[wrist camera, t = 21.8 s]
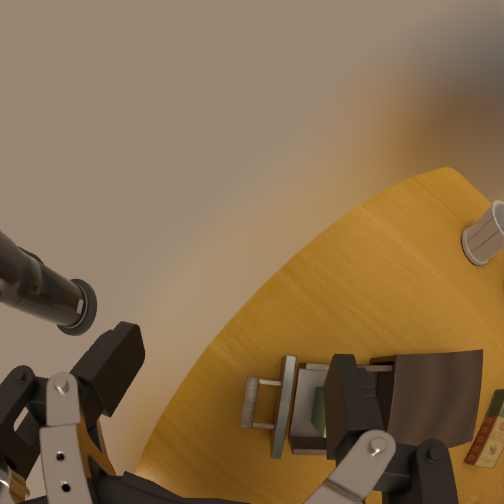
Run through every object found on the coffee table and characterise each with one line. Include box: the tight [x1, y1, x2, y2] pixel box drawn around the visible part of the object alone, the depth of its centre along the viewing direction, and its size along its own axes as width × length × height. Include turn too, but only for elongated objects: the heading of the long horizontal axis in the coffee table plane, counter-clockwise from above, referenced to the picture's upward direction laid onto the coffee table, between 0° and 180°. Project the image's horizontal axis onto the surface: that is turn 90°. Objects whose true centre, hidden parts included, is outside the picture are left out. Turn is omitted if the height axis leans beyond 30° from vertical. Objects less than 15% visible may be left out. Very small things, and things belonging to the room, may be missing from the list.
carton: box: [464, 389, 504, 469], centre depth 25 cm, size 8×16×4 cm, turn 148°
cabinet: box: [370, 349, 483, 448], centre depth 29 cm, size 17×15×10 cm
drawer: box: [240, 355, 393, 459], centre depth 30 cm, size 20×13×8 cm
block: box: [311, 387, 326, 438], centre depth 29 cm, size 4×6×9 cm
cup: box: [462, 201, 504, 266], centre depth 37 cm, size 10×9×12 cm
